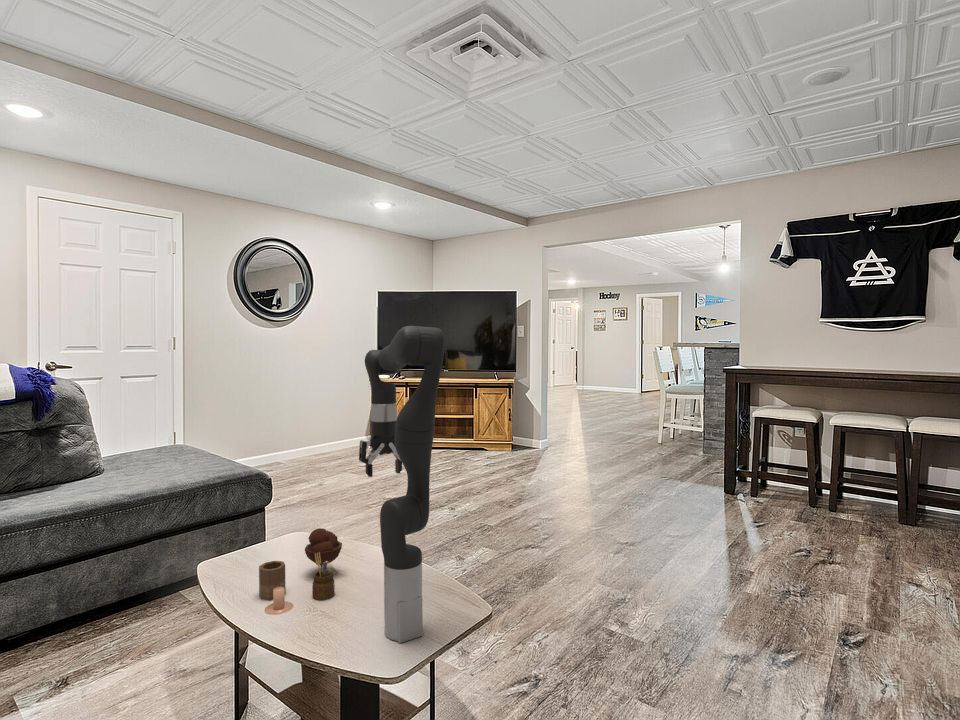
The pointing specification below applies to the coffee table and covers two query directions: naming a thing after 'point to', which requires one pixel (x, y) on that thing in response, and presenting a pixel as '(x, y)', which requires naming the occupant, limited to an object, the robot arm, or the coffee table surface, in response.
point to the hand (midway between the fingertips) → (384, 474)
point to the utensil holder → (323, 582)
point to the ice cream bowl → (323, 546)
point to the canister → (271, 578)
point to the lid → (278, 603)
